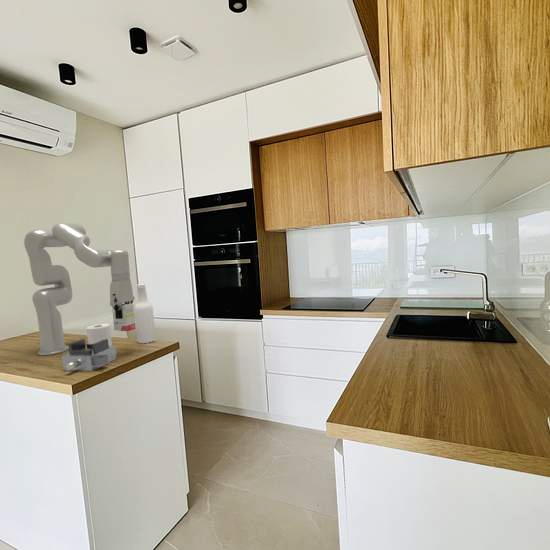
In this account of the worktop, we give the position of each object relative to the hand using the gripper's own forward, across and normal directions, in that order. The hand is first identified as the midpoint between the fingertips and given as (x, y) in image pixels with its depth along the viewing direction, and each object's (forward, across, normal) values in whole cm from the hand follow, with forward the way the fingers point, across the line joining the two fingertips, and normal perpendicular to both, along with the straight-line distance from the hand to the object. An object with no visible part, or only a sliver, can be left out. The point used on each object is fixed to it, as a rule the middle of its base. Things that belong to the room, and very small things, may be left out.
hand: (123, 316), depth 149 cm
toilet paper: (+18, -4, -18) cm, 26 cm away
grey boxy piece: (+18, +16, -5) cm, 24 cm away
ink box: (+6, 0, 0) cm, 6 cm away
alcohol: (+18, -19, -3) cm, 26 cm away
